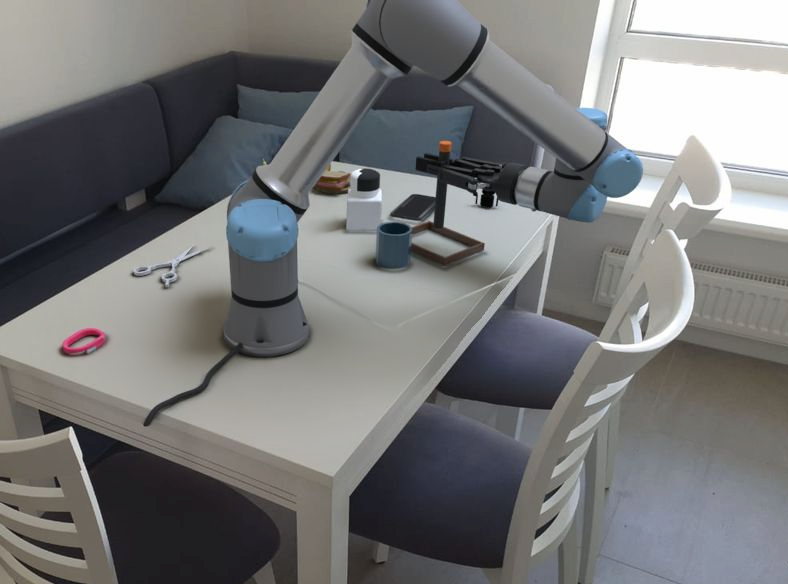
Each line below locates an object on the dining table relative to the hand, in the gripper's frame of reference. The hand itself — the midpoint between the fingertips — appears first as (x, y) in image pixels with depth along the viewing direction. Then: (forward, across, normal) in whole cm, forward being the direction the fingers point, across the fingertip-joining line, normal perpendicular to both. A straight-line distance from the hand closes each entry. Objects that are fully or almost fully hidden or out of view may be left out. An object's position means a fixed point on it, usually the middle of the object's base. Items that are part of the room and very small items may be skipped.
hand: (421, 161), depth 166 cm
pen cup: (-3, -12, -18) cm, 22 cm away
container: (+14, 0, -18) cm, 23 cm away
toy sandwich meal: (+36, +16, -18) cm, 43 cm away
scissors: (+32, -42, -18) cm, 56 cm away
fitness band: (+19, -74, -18) cm, 79 cm away
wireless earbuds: (-1, +29, -18) cm, 34 cm away
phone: (+11, +16, -18) cm, 26 cm away
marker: (-6, 0, -13) cm, 14 cm away
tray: (-5, 0, -18) cm, 19 cm away
